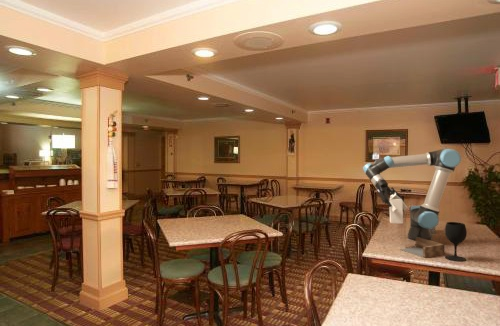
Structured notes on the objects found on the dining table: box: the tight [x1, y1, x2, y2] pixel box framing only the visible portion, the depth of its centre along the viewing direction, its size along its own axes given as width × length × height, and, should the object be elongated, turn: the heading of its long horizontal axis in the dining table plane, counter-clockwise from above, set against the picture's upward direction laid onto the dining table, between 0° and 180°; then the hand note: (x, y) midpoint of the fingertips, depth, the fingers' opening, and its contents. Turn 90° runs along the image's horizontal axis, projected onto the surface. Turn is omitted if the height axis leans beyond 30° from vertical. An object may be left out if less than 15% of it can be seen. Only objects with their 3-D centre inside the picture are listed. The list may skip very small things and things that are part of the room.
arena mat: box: [399, 246, 424, 258], centre depth 198 cm, size 15×16×1 cm
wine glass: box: [444, 221, 467, 263], centre depth 184 cm, size 10×10×20 cm
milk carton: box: [388, 193, 404, 225], centre depth 206 cm, size 7×7×19 cm
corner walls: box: [415, 237, 445, 259], centre depth 198 cm, size 16×19×6 cm
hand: (400, 209), depth 203 cm, fingers closed on milk carton, 10 cm apart
